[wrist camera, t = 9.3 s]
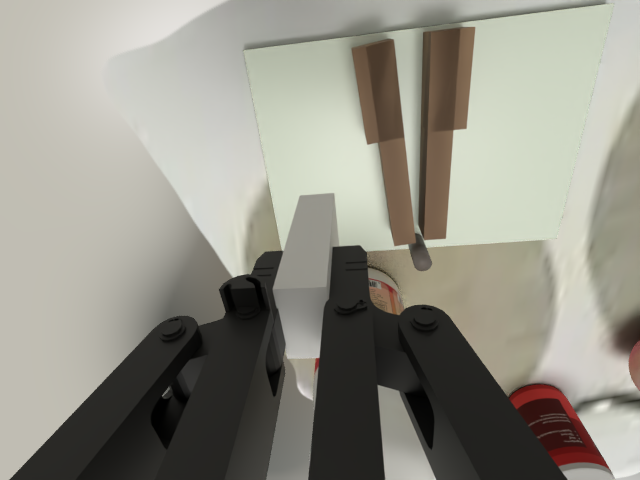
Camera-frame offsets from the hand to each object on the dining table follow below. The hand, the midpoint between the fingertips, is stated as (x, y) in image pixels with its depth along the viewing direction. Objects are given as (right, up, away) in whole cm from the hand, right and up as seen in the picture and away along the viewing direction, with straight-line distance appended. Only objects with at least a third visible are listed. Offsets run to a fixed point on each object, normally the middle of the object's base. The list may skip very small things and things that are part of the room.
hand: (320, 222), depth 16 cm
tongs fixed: (+10, +7, +17) cm, 21 cm away
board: (+9, +7, +18) cm, 21 cm away
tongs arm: (+6, +7, +16) cm, 19 cm away
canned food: (+30, -23, +35) cm, 51 cm away
